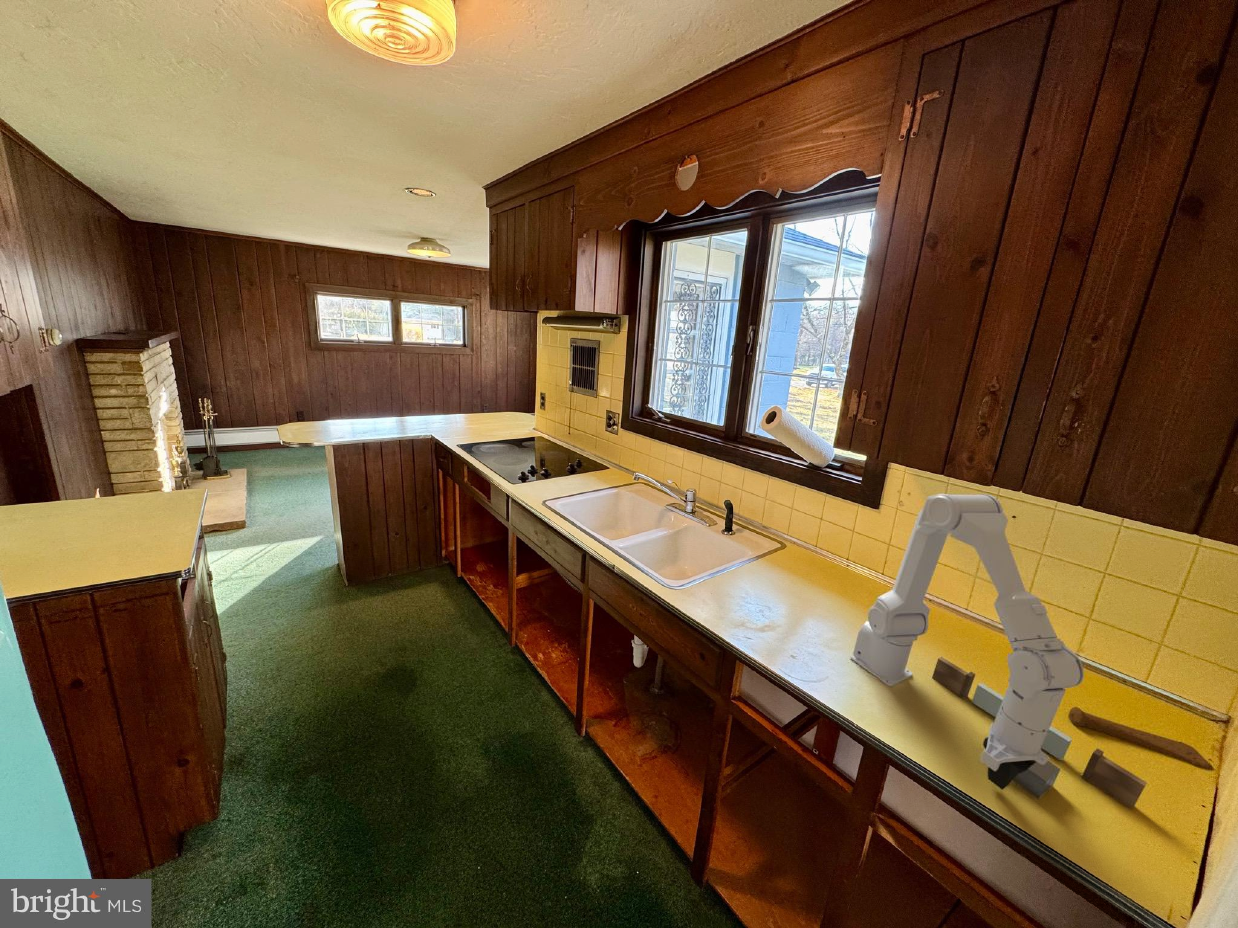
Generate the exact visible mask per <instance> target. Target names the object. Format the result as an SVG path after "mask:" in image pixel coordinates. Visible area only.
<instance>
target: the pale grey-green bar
mask: <svg viewBox="0 0 1238 928" xmlns="http://www.w3.org/2000/svg"><path fill="white" fill-rule="evenodd" d="M1003 698H1004V696H1003V695H1002V694H1000V693H998V692H996V691H995V690H993V689H991V688H990V687H989V686H987V685H985V684H984V683H982V682H979V683H978V684H977V685H976V688H975V691H974V693H973V697H972V699H971V703H972V704H974V705H975V706H977V707H979V708H980V709H981V710H983V711H985V712H987V713H988V714H989V715H991V716H993V717H994V718H995V719H996V716H997V714H998V711H999V708H1000V706H1001V703H1002V701H1003ZM1072 740H1073V738H1071V737H1070V736H1069V735H1067V734H1065V733H1063V732H1062V731H1060V730H1058V729H1056V728H1055V727H1054V726H1050V728H1049V730H1048V733H1047V735H1046V737H1045V739H1044V742H1043V744H1042V746H1041V749H1042V750H1044V751H1046V752H1047V753H1048V754H1050V755H1051V756H1053V757H1055V758H1056V759H1057V760H1059V761H1062V760H1063V759H1065V757H1066V754H1067V752H1068V750H1069V747H1070V746H1071V743H1072Z"/></svg>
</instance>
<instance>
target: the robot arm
mask: <svg viewBox="0 0 1238 928" xmlns="http://www.w3.org/2000/svg"><path fill="white" fill-rule="evenodd" d="M1003 509H1004V508H1003V507H1002V504H1001V502H1000V500H998V498H996V497H995V496H993V495H990V494H988V493H980V494H947V493H938V494H934V495H933V494H932V495H931V496H930V495H929V496H927V497H926V500H925V502H924V505H923V508H922V509H921V510H920V511H919V512H918V514H917V516H916V518H915V522H914V526H913V528H912V531H911V535H910V536H909V540H908V542H907V543H908V544H907V545H906V550H905V552H904V555H903V558H902V560H901V563H900V567H899V569H898V572H897V576H896V578H895V581H894V584H893V586H892V589H891V590H888V591H887V592H885V593H883V594H881V595H880V596H878V597H877V598H876V600H875V602H874V604H873V605H872V606H870V608H869V609H868V614H867V621H865V622H864V623H863V625H861V627H860V629H859V630H858V634H857V637H856V641H855V644H854V649H853V652H852V654H851V655H850V659H851V660H853V661H854V662H855V663H857V664H858V665H860V666H861V667H862V668H864V669H865V670H866V671H868V672H869V673H870V674H872V676H873V675H874V677H875V678H877V679H878V680H880V681H882V683H884V684H885V685H887V686H889V687H893V686H895V685H897V684H899V683H900V682H903V681H905V680H907V679H908V678H911V677H913V672H911V671H910V670H908V669H907V668H906V667H907V664H908V661H909V657H910V654H911V651H912V647H913V643H914V642H915V641H918V638H919V636H923V635H925V634H926V633H927V631H928V629H929V614H930V612H931V608H930V607H929V606H928V604H927V603H926V602H925V601H924V600H925V598H926V594H927V591H928V588H929V586H930V584H931V581H932V578H933V575H934V573H935V570H936V567H937V565H938V562H939V559H940V556H941V554H942V552H943V549H944V545H945V543H946V541H947V538H948V536H950V537H951V538H952V539H956V540H957V541H960V542H961V543H964V544H966V545H969V546H971V547H972V548H974V549H975V552H976V553H977V555H978V557H979V559H980V561H981V563H982V565H983V567H984V568H985V571H986V573H987V575H988V577H989V579H990V580H991V582H992V584H993V586H994V588H995V590H996V592H997V593H998V595H997V598H996V599H995V601H994V603H993V606H994V609H995V611H996V614H997V616H998V619H999V621H1000V623H1001V626H1002V628H1003V630H1004V634H1005V635H1006V637H1007V640H1008V642H1009V645H1010V647H1011V650H1012V652H1013V653H1009V652H1008V653H1007V659H1006V660H1007V661H1006V662H1007V666H1008V669H1009V676H1008V679H1007V681H1008V682H1009V683H1008V686H1007V688H1006V691H1005V693H1004V696H1003V697H1004V698H1003V701H1002V703H1001V706H1000V708H999V711H998V714H997V716H996V718H995V719H994V722H993V723H991V725H990V727H989V729H988V731H989V732H988V736H987V737H985V738H984V740H983V742H982V743H983V744H982V745H983V748H984V750H983V751H982V754H981V757H980V759H979V761H980V762H982V763H983V764H984V765H986V767H987V780H989V781H990V782H991V783H993V784H994V785H995V786H996V787H997V788H999V789H1000V790H1004V789H1006V787H1008V786H1010V785H1011V783H1012V782H1014V781H1013V780H1014V779H1015V777H1016V776H1017V775H1018V774H1019V773H1022V772H1024V771H1026V770H1027V769H1029V768H1030V767H1031V766H1032V765H1034V764H1035V763H1036V762H1038V763H1039V764H1042V765H1044V764H1045V763H1047V762H1048V761H1049V760H1050V757H1049V755H1047V754H1046V753H1045V752H1044V751H1042V748H1041V746H1042V744H1043V742H1044V739H1045V737H1046V735H1047V733H1048V730H1049V728H1050V726H1051V725H1052V723H1053V720H1054V718H1055V717H1056V714H1057V712H1058V711H1059V710H1058V709H1059V708H1060V705H1061V704H1062V703H1061V702H1062V701H1063V698H1064V696H1065V694H1066V692H1067V690H1066V689H1068V688H1074V687H1075V688H1076V687H1078V686H1079V685H1081V684H1082V682H1083V680H1084V677H1085V671H1084V667H1083V665H1082V660H1081V658H1080V657H1079V656H1078V655H1077V654H1076V652H1074V651H1073V650H1072V649H1070V648H1068V647H1067V645H1066V644H1065V642H1064V641H1063V640H1061V639H1060V638H1058V636H1057V633H1056V632H1055V629H1054V627H1053V625H1052V623H1051V621H1050V618H1049V616H1048V615H1047V614H1048V610H1047V609H1046V606H1045V604H1042V602H1041V599H1040V598H1039V597H1038V596H1036V595H1034V594H1032V593H1031V592H1029V591H1027V590H1026V588H1025V585H1024V583H1023V579H1022V577H1021V575H1020V571H1019V569H1018V566H1017V564H1016V560H1015V558H1014V555H1013V551H1012V550H1011V547H1010V544H1009V542H1008V538H1007V536H1006V528H1007V525H1008V521H1009V519H1008V518H1007V516H1006V514H1005V512H1004V510H1003Z"/></svg>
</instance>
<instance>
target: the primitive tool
mask: <svg viewBox="0 0 1238 928" xmlns="http://www.w3.org/2000/svg"><path fill="white" fill-rule="evenodd" d="M1067 718H1068V720H1069V721H1070V723H1071V724H1072V725H1073V726H1074V727H1081V726H1082V727H1086V728H1089V729H1092V730H1095V731H1099V732H1101V733H1104V734H1107V735H1110V736H1112V737H1116V738H1118V739H1121V740H1124V741H1127V742H1130V743H1133V744H1136V745H1138V746H1141V747H1144V748H1147V749H1150V750H1152V751H1155V752H1158V753H1160V754H1164V755H1167V756H1169V757H1172V758H1175V759H1178V760H1180V761H1183V762H1186V763H1189V764H1191V765H1193V766H1196V767H1200V768H1202V769H1205V770H1210V771H1214V766H1213V765H1212V764H1211V763H1210V762H1209V761H1208V760H1206V759H1205V758H1204V756H1202V754H1200V752H1199V751H1197V749H1195V748H1194V746H1191V745H1189V744H1187V743H1186V742H1182V741H1179V740H1175V739H1171V738H1167V737H1164V736H1160V735H1157V734H1154V733H1151V732H1147V731H1144V730H1142V729H1141V730H1140V729H1136V728H1134V727H1130V726H1128V725H1125V724H1120V723H1118V722H1115V721H1113V720H1109V719H1106V718H1103V717H1100V716H1097V715H1094V714H1092V713H1088V712H1085V711H1083V710H1082V709H1081V708H1080V707H1078V706H1073V707H1071V709H1070V710H1069V712H1068V717H1067Z"/></svg>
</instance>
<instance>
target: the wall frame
mask: <svg viewBox="0 0 1238 928" xmlns="http://www.w3.org/2000/svg"><path fill="white" fill-rule="evenodd" d="M975 678H976V673H975V672H973V671H970V672H967V671H966V670H964V669H963V668H960V667H959V666H958V665H956V664H954V663H953V662H951V661H950V660H948V659H946V658H944V657H943V656H939V657H938V658H937V661H936V664H935V667H934V670H933V673H932V676H931V679H933V680H934V681H936V682H938V683H939V684H940V685H942V686H944V687H945V688H947V689H948V690H950V691H952V692H953V693H954V694H956V695H958V697H959V698H961V699H962V700H964V699H965V698H967V697H969V693H970V691H971V689H972V686H973V682H974V679H975ZM1104 753H1105V752H1104V751H1103V750H1101V749H1100V748H1097V747H1096V749H1095V750H1093V752H1092V754H1091V756H1090V758H1089V759H1088V762H1087V764H1086V766H1085V768H1084V770H1083V772H1082V775H1081V776H1080V777H1081V779H1083V780H1084V781H1086V782H1089V783H1091V784H1092V785H1094V786H1096V787H1097V788H1099V789H1100V790H1101V791H1102V792H1105V794H1108V795H1109V796H1110V797H1112V798H1114V799H1115V800H1117V801H1118V802H1120V803H1121V804H1123V805H1124V806H1126V807H1128V808H1129V809H1130V810H1133V808H1134V807H1135V806H1136V804H1137V803H1138V800H1139V798H1140V797H1141V795H1142V793H1143V792H1144V789H1145V788H1146V786H1147V783H1148V782H1147V781H1145V780H1144V779H1142V778H1140V777H1138V775H1135V774H1134V773H1132V772H1130V770H1127V769H1125V768H1124V767H1122V766H1121V765H1119V764H1118V763H1116V762H1114V761H1112V760H1111V759H1110V758H1108V757H1107V756H1106V757H1105V756H1104Z"/></svg>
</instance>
